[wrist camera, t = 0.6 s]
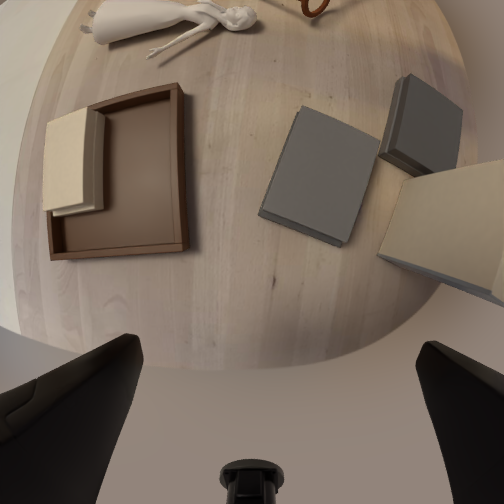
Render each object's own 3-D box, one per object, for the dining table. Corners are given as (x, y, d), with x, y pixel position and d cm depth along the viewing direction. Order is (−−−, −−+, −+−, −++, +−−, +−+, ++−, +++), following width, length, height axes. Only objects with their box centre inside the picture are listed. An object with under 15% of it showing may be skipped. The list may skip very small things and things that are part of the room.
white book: (399, 266, 21) (510, 310, 8) (376, 255, 21) (489, 295, 8) (424, 193, 20) (539, 182, 7) (403, 179, 20) (518, 155, 7)
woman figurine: (103, -21, 13) (269, -27, 14) (115, -1, 17) (265, -1, 19) (54, 57, 14) (243, 51, 16) (75, 73, 19) (242, 77, 20)
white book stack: (104, 209, 20) (84, 208, 17) (62, 216, 20) (42, 217, 17) (105, 116, 19) (88, 105, 16) (65, 129, 19) (46, 122, 16)
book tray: (190, 248, 21) (183, 251, 19) (63, 257, 21) (50, 260, 19) (184, 92, 19) (177, 82, 17) (62, 126, 20) (50, 120, 18)
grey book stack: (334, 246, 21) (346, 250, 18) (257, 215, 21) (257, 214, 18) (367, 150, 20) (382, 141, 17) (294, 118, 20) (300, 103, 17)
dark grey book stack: (434, 189, 20) (453, 186, 17) (377, 155, 20) (393, 147, 17) (447, 115, 19) (464, 107, 16) (395, 81, 19) (409, 68, 16)
